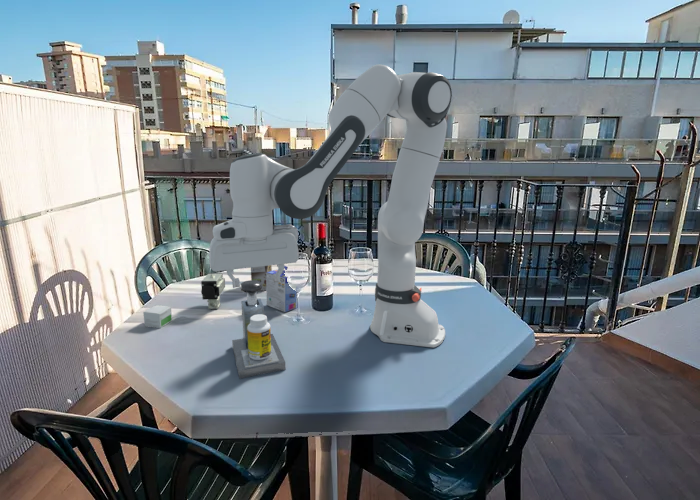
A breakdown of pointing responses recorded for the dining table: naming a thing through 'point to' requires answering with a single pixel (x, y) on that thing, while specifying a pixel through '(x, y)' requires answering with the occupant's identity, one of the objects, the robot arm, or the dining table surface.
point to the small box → (157, 316)
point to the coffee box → (260, 274)
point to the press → (240, 348)
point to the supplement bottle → (259, 337)
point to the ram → (251, 290)
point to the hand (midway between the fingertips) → (256, 284)
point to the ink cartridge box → (280, 292)
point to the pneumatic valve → (213, 289)
